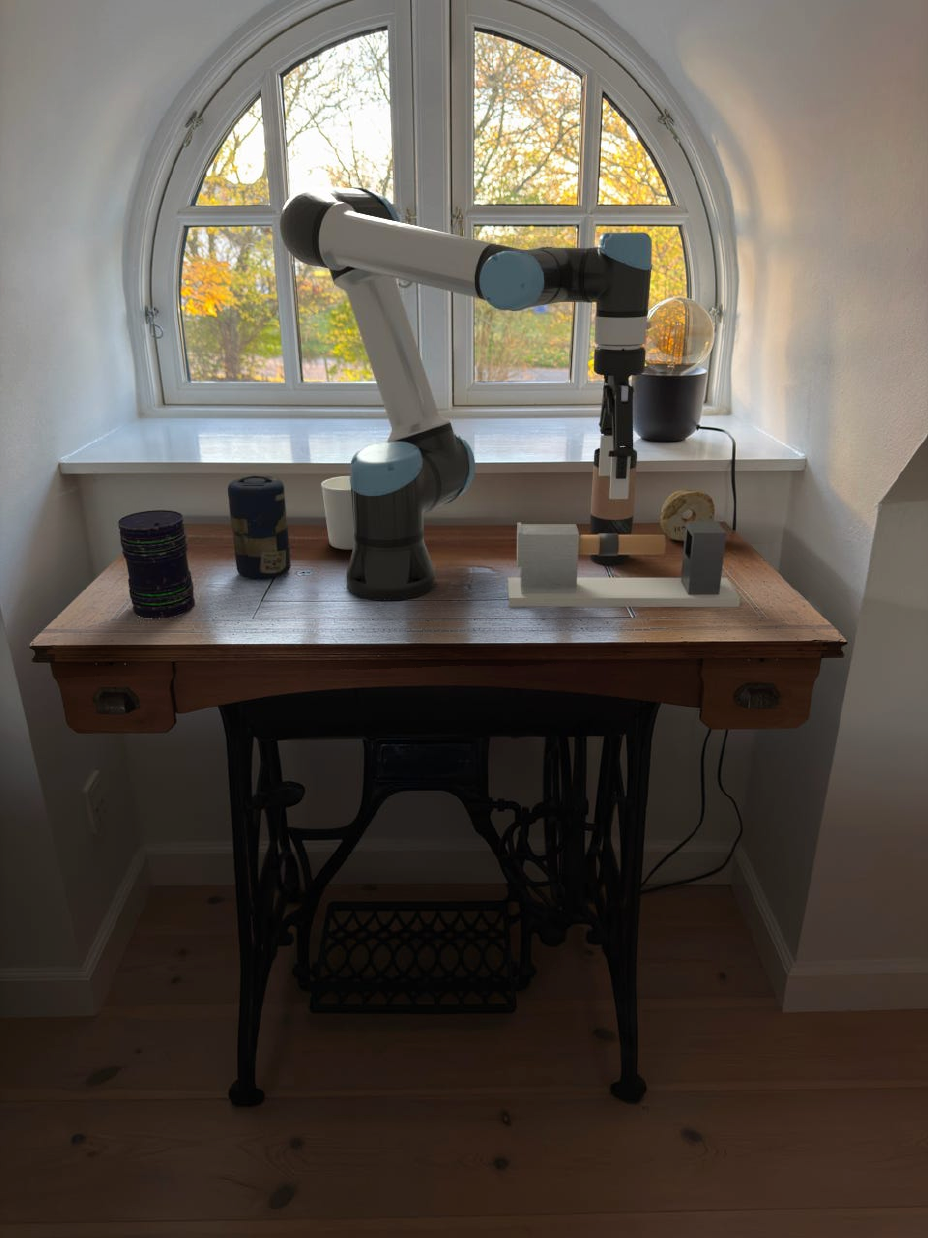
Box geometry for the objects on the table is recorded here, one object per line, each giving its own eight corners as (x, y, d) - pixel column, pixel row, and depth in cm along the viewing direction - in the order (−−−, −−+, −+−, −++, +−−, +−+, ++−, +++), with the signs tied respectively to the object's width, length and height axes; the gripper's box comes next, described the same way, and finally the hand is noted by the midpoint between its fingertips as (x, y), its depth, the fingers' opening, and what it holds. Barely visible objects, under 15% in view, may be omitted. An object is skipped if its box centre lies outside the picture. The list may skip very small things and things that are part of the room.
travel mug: (628, 552, 167) (636, 446, 159) (631, 566, 160) (639, 456, 152) (587, 551, 168) (593, 445, 160) (588, 565, 161) (594, 455, 153)
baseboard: (508, 606, 144) (508, 597, 143) (507, 585, 152) (507, 577, 151) (739, 606, 143) (740, 598, 142) (725, 585, 151) (726, 577, 150)
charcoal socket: (688, 594, 144) (694, 532, 140) (680, 580, 149) (686, 521, 145) (719, 594, 144) (726, 532, 139) (710, 581, 149) (717, 521, 145)
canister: (251, 563, 163) (240, 466, 156) (300, 566, 161) (291, 469, 154) (228, 582, 155) (215, 480, 147) (279, 585, 153) (269, 483, 146)
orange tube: (527, 558, 143) (528, 537, 142) (526, 551, 147) (527, 530, 145) (664, 558, 143) (666, 537, 141) (660, 551, 146) (662, 530, 145)
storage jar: (124, 604, 146) (108, 517, 140) (183, 591, 151) (170, 506, 145) (144, 624, 138) (128, 533, 132) (205, 609, 144) (192, 521, 138)
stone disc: (706, 535, 176) (711, 485, 172) (713, 541, 172) (719, 491, 168) (655, 537, 175) (659, 487, 171) (661, 543, 171) (665, 493, 167)
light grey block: (517, 593, 145) (518, 532, 141) (516, 581, 150) (517, 522, 145) (576, 593, 145) (579, 532, 140) (573, 581, 149) (576, 522, 145)
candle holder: (378, 549, 170) (375, 488, 165) (326, 552, 168) (321, 490, 163) (374, 533, 178) (371, 474, 174) (325, 536, 177) (320, 477, 172)
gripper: (661, 356, 120) (650, 509, 128) (633, 336, 143) (625, 466, 151) (605, 357, 120) (597, 509, 128) (586, 336, 143) (581, 466, 151)
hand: (612, 486), depth 140 cm, fingers open, 13 cm apart
